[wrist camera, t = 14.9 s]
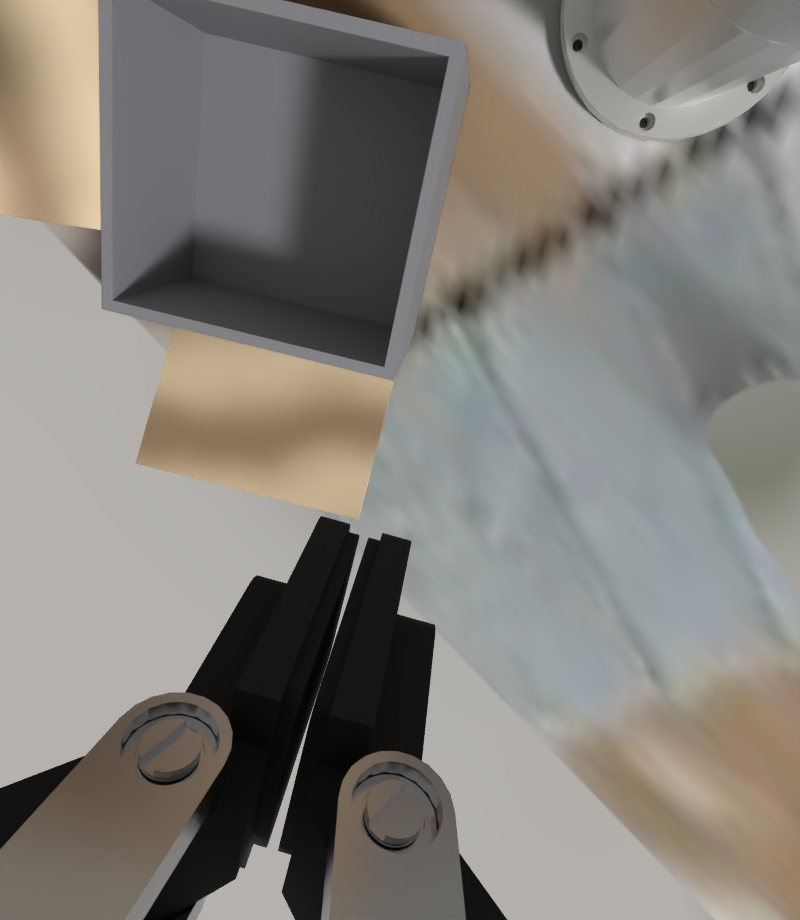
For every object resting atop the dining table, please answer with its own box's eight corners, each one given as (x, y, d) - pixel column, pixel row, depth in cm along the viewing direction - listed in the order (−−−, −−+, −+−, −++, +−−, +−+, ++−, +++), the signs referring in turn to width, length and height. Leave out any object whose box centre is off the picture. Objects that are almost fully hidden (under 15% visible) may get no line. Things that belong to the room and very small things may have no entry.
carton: (200, 20, 34) (97, -43, 25) (470, 83, 33) (466, 42, 24) (187, 283, 40) (101, 308, 31) (412, 338, 40) (393, 380, 31)
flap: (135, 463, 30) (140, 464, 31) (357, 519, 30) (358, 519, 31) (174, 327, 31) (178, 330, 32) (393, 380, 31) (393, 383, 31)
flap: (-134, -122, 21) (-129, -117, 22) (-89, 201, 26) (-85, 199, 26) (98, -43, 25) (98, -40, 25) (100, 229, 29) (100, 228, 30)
